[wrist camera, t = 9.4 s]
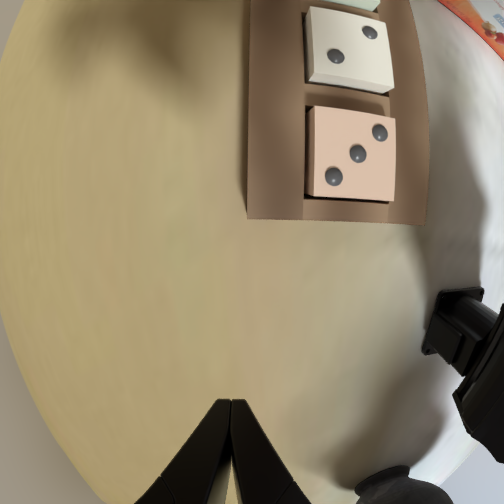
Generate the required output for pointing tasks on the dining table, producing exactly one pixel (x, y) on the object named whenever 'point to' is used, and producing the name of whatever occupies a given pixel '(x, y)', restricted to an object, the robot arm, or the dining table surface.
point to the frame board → (309, 95)
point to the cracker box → (482, 19)
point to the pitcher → (399, 489)
